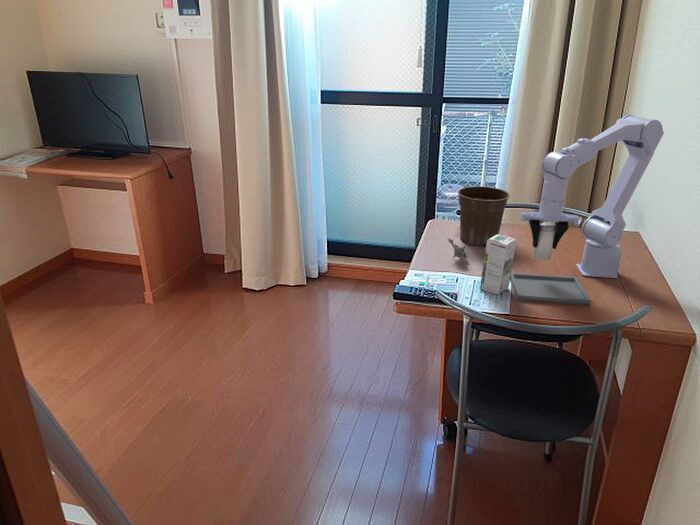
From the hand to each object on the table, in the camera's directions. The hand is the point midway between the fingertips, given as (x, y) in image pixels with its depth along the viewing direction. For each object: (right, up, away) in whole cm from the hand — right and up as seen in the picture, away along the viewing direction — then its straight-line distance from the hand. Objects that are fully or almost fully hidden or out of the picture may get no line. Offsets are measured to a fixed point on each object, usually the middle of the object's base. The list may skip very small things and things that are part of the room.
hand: (544, 246), depth 147 cm
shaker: (0, -3, +1) cm, 3 cm away
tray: (0, -12, -2) cm, 12 cm away
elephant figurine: (-20, -4, +16) cm, 26 cm away
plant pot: (-10, +3, +32) cm, 34 cm away
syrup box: (-14, -12, -2) cm, 18 cm away
